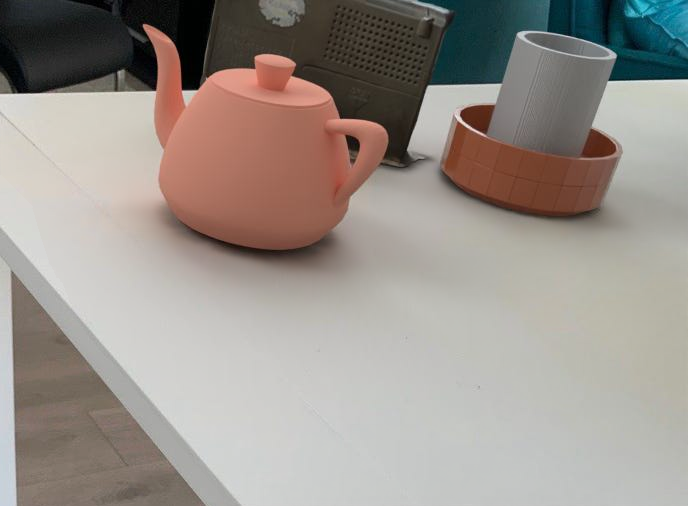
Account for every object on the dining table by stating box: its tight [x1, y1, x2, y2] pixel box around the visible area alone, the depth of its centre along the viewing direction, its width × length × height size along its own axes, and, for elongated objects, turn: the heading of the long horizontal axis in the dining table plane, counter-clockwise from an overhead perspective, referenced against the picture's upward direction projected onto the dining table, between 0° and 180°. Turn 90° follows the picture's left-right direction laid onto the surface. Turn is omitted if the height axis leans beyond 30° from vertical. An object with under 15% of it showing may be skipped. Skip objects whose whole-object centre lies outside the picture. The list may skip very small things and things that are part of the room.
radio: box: [199, 0, 457, 168], centre depth 99 cm, size 23×9×15 cm, turn 70°
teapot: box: [142, 23, 388, 251], centre depth 80 cm, size 22×15×12 cm
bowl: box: [439, 102, 624, 217], centre depth 99 cm, size 16×16×6 cm
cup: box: [487, 30, 618, 158], centre depth 97 cm, size 9×9×12 cm
